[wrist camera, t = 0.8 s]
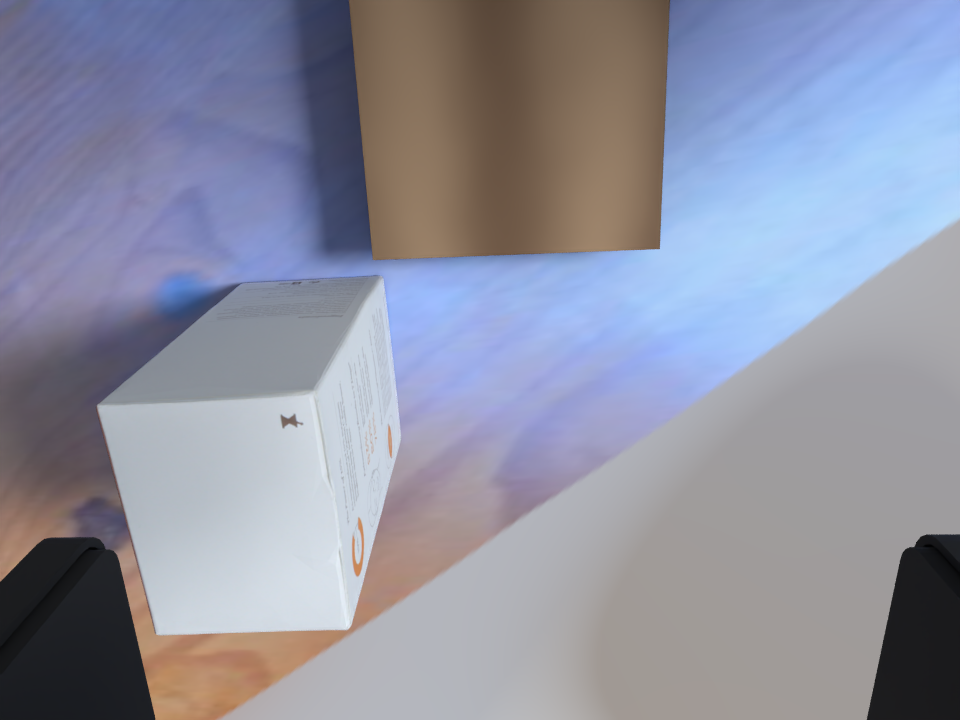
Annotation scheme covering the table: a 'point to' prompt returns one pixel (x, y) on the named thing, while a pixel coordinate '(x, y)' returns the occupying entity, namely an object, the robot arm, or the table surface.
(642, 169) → the plinth
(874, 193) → the table surface
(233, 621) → the small box
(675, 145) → the table surface
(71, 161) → the table surface
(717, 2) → the table surface
